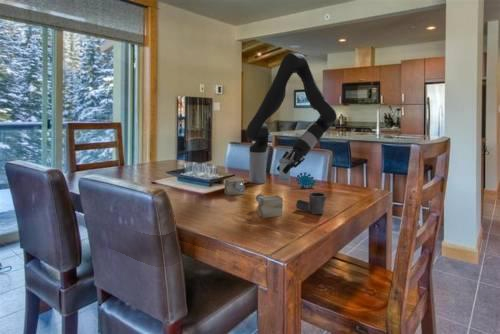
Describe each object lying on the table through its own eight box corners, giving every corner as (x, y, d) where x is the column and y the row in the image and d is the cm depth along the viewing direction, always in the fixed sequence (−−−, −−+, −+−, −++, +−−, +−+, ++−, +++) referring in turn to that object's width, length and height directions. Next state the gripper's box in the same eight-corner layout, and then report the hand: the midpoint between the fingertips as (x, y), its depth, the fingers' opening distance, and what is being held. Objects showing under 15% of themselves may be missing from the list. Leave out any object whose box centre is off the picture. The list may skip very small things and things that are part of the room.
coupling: (276, 180, 161) (277, 158, 160) (286, 179, 164) (287, 158, 162) (282, 182, 157) (282, 160, 155) (292, 181, 159) (293, 159, 157)
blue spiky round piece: (296, 186, 181) (296, 170, 187) (294, 192, 186) (293, 176, 192) (317, 189, 182) (316, 173, 188) (314, 194, 187) (313, 179, 193)
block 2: (258, 214, 138) (258, 196, 137) (276, 212, 141) (276, 195, 140) (263, 218, 133) (264, 200, 132) (282, 215, 137) (282, 197, 135)
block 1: (224, 193, 172) (224, 179, 171) (239, 191, 175) (239, 177, 174) (228, 195, 167) (228, 181, 166) (243, 193, 171) (243, 179, 170)
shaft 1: (232, 189, 168) (232, 182, 167) (239, 188, 169) (239, 181, 169) (238, 192, 162) (238, 185, 161) (245, 192, 163) (245, 184, 163)
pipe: (301, 208, 147) (301, 189, 146) (329, 213, 139) (330, 194, 138) (293, 211, 143) (293, 192, 141) (322, 217, 135) (322, 197, 133)
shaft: (255, 202, 145) (255, 194, 144) (263, 201, 146) (263, 193, 145) (263, 207, 138) (263, 198, 138) (271, 206, 140) (271, 197, 139)
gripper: (292, 136, 166) (268, 163, 163) (309, 139, 153) (284, 168, 151) (301, 147, 169) (278, 173, 166) (318, 151, 156) (294, 179, 154)
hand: (281, 171), depth 159 cm, fingers closed on coupling, 4 cm apart
